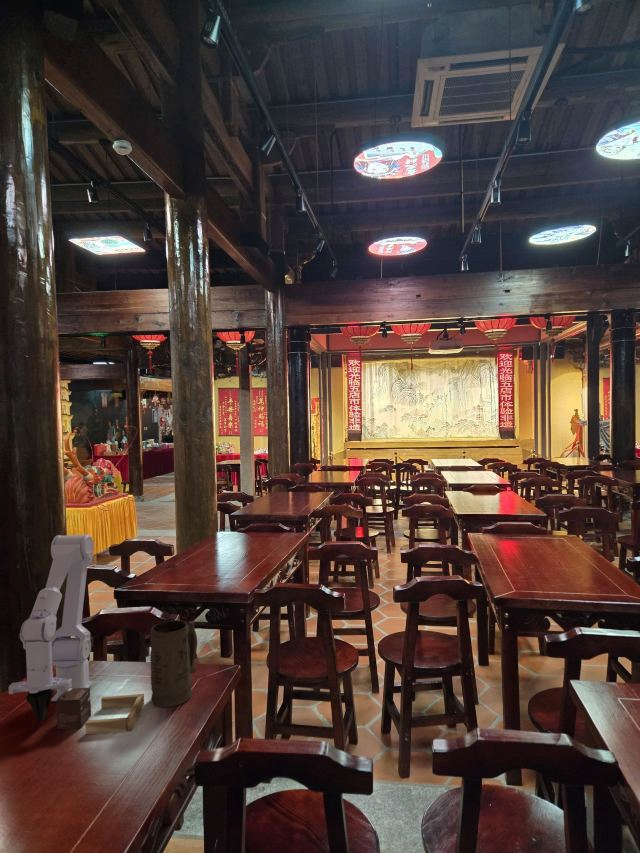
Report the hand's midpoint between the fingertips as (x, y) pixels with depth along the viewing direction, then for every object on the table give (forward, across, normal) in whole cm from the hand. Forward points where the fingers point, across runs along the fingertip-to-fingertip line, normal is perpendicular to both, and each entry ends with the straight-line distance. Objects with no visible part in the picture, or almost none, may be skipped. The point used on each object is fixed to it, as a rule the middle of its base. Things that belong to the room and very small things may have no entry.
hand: (41, 718), depth 133 cm
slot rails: (+1, +18, 0) cm, 18 cm away
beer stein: (+2, +31, +11) cm, 33 cm away
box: (+2, +8, 0) cm, 8 cm away
